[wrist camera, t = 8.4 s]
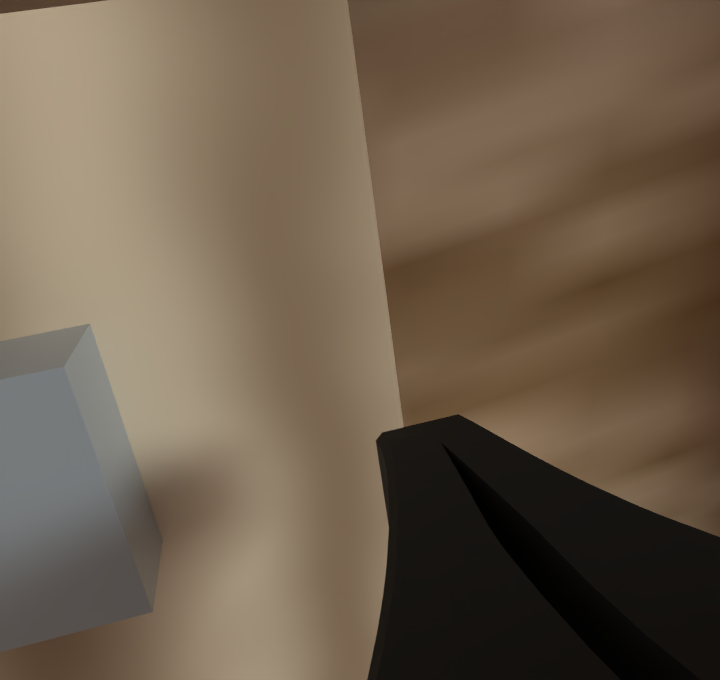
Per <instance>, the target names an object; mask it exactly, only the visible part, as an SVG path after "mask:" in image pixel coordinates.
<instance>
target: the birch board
mask: <svg viewBox="0 0 720 680" xmlns="http://www.w3.org/2000/svg"><path fill="white" fill-rule="evenodd" d="M85 324H90V325H91V328H92V331H93V334H94V337H95V340H96V343H97V346H98V349H99V352H100V355H101V358H102V361H103V364H104V367H105V370H106V373H107V376H108V379H109V382H110V385H111V388H112V391H113V394H114V397H115V400H116V403H117V406H118V409H119V412H120V415H121V418H122V421H123V424H124V427H125V430H126V433H127V436H128V439H129V441H130V444H131V447H132V450H133V453H134V456H135V459H136V462H137V465H138V468H139V471H140V474H141V477H142V480H143V483H144V486H145V489H146V492H147V495H148V498H149V501H150V504H151V507H152V510H153V513H154V516H155V519H156V522H157V525H158V528H159V531H160V534H161V537H162V540H163V542H162V549H161V557H160V564H159V571H158V579H157V586H156V593H155V601H154V608H153V612H151V613H147V614H143V615H140V616H136V617H132V618H128V619H125V620H121V621H117V622H113V623H109V624H106V625H102V626H98V627H94V628H90V629H87V630H83V631H79V632H75V633H71V634H68V635H64V636H60V637H56V638H52V639H49V640H45V641H41V642H37V643H34V644H30V645H26V646H22V647H18V648H15V649H11V650H7V651H3V652H0V680H367V679H368V674H369V669H370V664H371V659H372V654H373V650H374V645H375V640H376V635H377V630H378V624H379V618H380V612H381V605H382V599H383V592H384V584H385V575H386V566H387V550H388V535H389V525H388V518H387V512H386V505H385V499H384V492H383V485H382V479H381V472H380V466H379V459H378V453H377V446H376V440H377V438H378V437H379V436H380V434H381V433H382V432H386V431H390V430H394V429H399V428H403V419H402V411H401V404H400V396H399V388H398V381H397V373H396V366H395V358H394V350H393V343H392V335H391V328H390V320H389V312H388V305H387V297H386V289H385V282H384V274H383V267H382V259H381V251H380V244H379V236H378V228H377V221H376V213H375V206H374V198H373V190H372V183H371V175H370V167H369V160H368V152H367V145H366V137H365V129H364V122H363V114H362V107H361V99H360V91H359V84H358V76H357V68H356V61H355V53H354V46H353V38H352V30H351V23H350V15H349V7H348V0H107V1H99V2H91V3H83V4H75V5H67V6H59V7H51V8H43V9H36V10H28V11H20V12H12V13H4V14H0V341H4V340H9V339H14V338H19V337H24V336H29V335H34V334H39V333H44V332H49V331H54V330H60V329H65V328H70V327H75V326H80V325H85Z"/></svg>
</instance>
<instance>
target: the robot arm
mask: <svg viewBox="0 0 720 680" xmlns="http://www.w3.org/2000/svg"><path fill="white" fill-rule="evenodd" d="M376 446H377V453H378V459H379V466H380V472H381V479H382V485H383V492H384V499H385V505H386V512H387V518H388V525H389V535H388V550H387V566H386V575H385V584H384V592H383V599H382V605H381V612H380V618H379V624H378V630H377V635H376V640H375V645H374V650H373V654H372V659H371V664H370V669H369V674H368V679H367V680H720V537H718V536H715V535H712V534H709V533H707V532H704V531H701V530H699V529H696V528H693V527H691V526H688V525H685V524H683V523H680V522H677V521H675V520H672V519H669V518H666V517H664V516H661V515H659V514H656V513H654V512H651V511H649V510H647V509H644V508H642V507H639V506H637V505H635V504H632V503H630V502H628V501H626V500H623V499H621V498H619V497H617V496H615V495H612V494H610V493H608V492H606V491H604V490H601V489H599V488H597V487H595V486H593V485H590V484H588V483H586V482H584V481H582V480H580V479H578V478H576V477H574V476H572V475H570V474H568V473H566V472H564V471H562V470H560V469H558V468H556V467H554V466H552V465H550V464H548V463H547V462H545V461H543V460H541V459H539V458H537V457H535V456H533V455H532V454H530V453H528V452H526V451H524V450H522V449H520V448H519V447H517V446H515V445H513V444H511V443H510V442H508V441H506V440H504V439H502V438H501V437H499V436H497V435H495V434H494V433H492V432H490V431H488V430H486V429H485V428H483V427H481V426H479V425H478V424H476V423H474V422H472V421H470V420H468V419H466V418H464V417H462V416H460V415H454V416H450V417H445V418H441V419H437V420H433V421H428V422H424V423H420V424H416V425H411V426H407V427H403V428H399V429H394V430H390V431H386V432H382V433H381V434H380V436H379V437H378V438H377V440H376Z"/></svg>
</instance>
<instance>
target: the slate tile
mask: <svg viewBox="0 0 720 680" xmlns="http://www.w3.org/2000/svg"><path fill="white" fill-rule="evenodd" d="M162 542H163V540H162V537H161V534H160V531H159V528H158V525H157V522H156V519H155V516H154V513H153V510H152V507H151V504H150V501H149V498H148V495H147V492H146V489H145V486H144V483H143V480H142V477H141V474H140V471H139V468H138V465H137V462H136V459H135V456H134V453H133V450H132V447H131V444H130V441H129V439H128V436H127V433H126V430H125V427H124V424H123V421H122V418H121V415H120V412H119V409H118V406H117V403H116V400H115V397H114V394H113V391H112V388H111V385H110V382H109V379H108V376H107V373H106V370H105V367H104V364H103V361H102V358H101V355H100V352H99V349H98V346H97V343H96V340H95V337H94V334H93V331H92V328H91V325H90V324H85V325H80V326H75V327H70V328H65V329H60V330H54V331H49V332H44V333H39V334H34V335H29V336H24V337H19V338H14V339H9V340H4V341H0V652H3V651H7V650H11V649H15V648H18V647H22V646H26V645H30V644H34V643H37V642H41V641H45V640H49V639H52V638H56V637H60V636H64V635H68V634H71V633H75V632H79V631H83V630H87V629H90V628H94V627H98V626H102V625H106V624H109V623H113V622H117V621H121V620H125V619H128V618H132V617H136V616H140V615H143V614H147V613H151V612H153V608H154V601H155V593H156V586H157V579H158V571H159V564H160V557H161V549H162Z"/></svg>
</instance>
